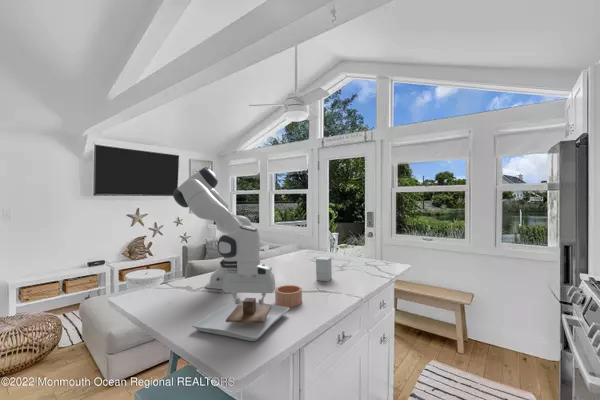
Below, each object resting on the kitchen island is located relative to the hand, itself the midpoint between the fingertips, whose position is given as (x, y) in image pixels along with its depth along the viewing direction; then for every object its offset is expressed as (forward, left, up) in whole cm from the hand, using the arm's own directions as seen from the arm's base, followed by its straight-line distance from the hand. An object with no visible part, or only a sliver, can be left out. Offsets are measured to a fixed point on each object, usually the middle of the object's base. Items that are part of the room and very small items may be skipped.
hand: (249, 303), depth 110 cm
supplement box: (+28, +59, -8) cm, 66 cm away
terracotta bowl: (+13, +22, -8) cm, 27 cm away
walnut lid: (0, 0, -4) cm, 4 cm away
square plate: (-2, 0, -8) cm, 9 cm away
